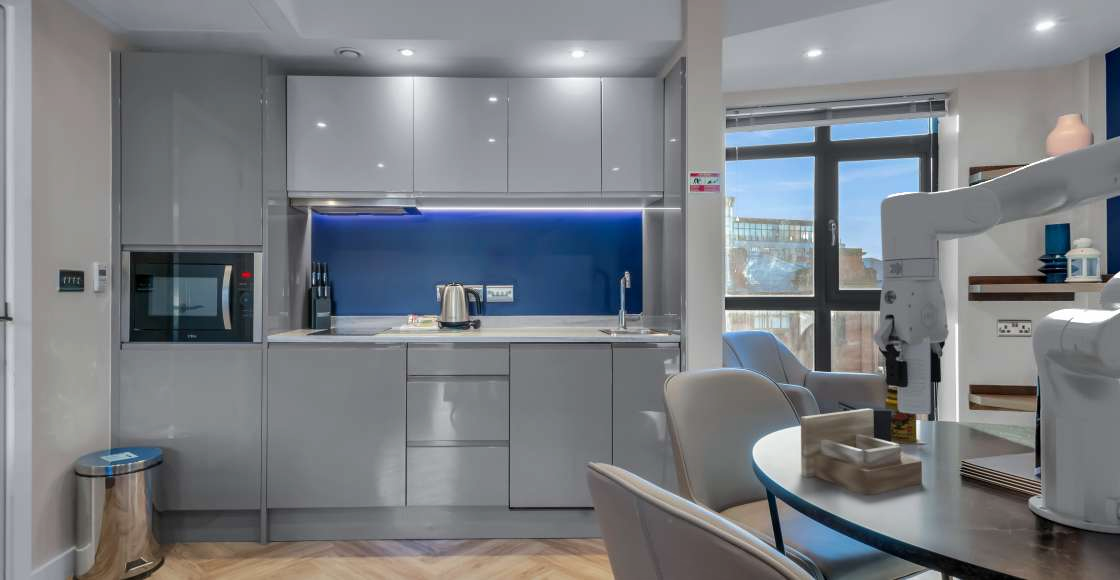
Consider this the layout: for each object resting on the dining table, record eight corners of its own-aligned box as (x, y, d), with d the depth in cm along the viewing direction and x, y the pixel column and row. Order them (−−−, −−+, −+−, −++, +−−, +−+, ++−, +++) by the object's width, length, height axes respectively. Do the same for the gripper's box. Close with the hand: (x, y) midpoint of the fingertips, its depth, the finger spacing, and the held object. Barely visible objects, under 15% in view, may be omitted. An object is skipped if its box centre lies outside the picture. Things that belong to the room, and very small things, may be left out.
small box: (894, 461, 114) (894, 409, 114) (861, 461, 114) (861, 410, 115) (867, 447, 125) (866, 399, 125) (837, 447, 125) (836, 400, 125)
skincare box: (896, 405, 93) (894, 332, 94) (929, 407, 91) (926, 332, 91) (899, 413, 88) (896, 335, 88) (933, 415, 86) (930, 335, 86)
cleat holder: (929, 481, 102) (928, 420, 102) (858, 497, 95) (858, 431, 95) (860, 460, 115) (860, 406, 115) (793, 472, 108) (793, 415, 108)
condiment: (892, 444, 128) (891, 390, 128) (874, 434, 136) (874, 384, 136) (926, 444, 127) (925, 391, 127) (906, 435, 135) (906, 384, 135)
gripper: (894, 271, 83) (899, 392, 83) (969, 269, 90) (973, 381, 90) (850, 273, 90) (854, 385, 90) (922, 272, 97) (926, 376, 97)
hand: (913, 382), depth 90 cm, fingers closed on skincare box, 7 cm apart
